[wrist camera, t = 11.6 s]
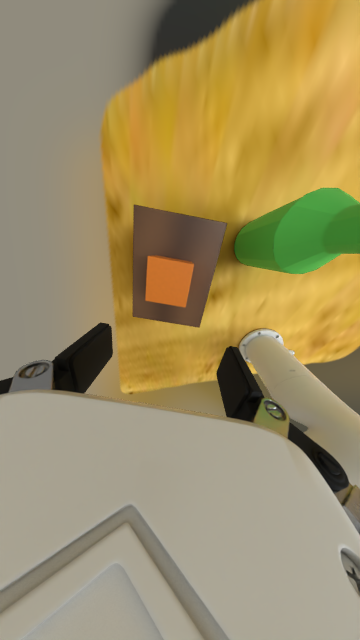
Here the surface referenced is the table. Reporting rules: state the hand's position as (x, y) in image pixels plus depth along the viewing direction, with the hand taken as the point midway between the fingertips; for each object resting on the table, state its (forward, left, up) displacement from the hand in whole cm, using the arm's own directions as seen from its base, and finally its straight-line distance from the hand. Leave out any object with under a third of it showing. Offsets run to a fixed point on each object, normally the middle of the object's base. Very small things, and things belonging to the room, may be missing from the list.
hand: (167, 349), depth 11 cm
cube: (+1, -4, -14) cm, 14 cm away
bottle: (-15, -11, -27) cm, 33 cm away
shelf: (+1, -4, -27) cm, 27 cm away
